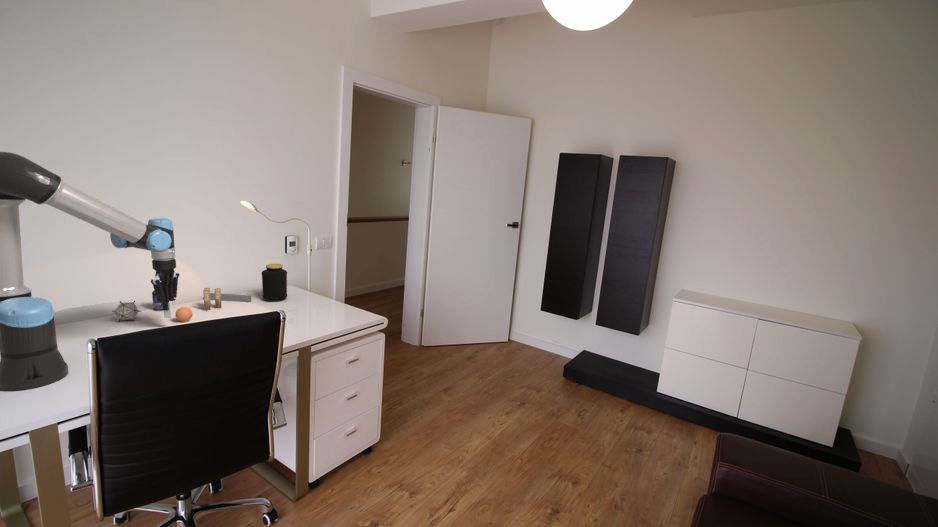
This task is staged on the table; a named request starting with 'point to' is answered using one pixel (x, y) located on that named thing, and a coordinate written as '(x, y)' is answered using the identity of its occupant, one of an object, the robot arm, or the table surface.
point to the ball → (183, 314)
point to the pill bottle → (156, 303)
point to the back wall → (232, 297)
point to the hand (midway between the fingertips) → (168, 317)
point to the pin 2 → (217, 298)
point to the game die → (126, 311)
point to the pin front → (206, 300)
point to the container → (274, 282)
